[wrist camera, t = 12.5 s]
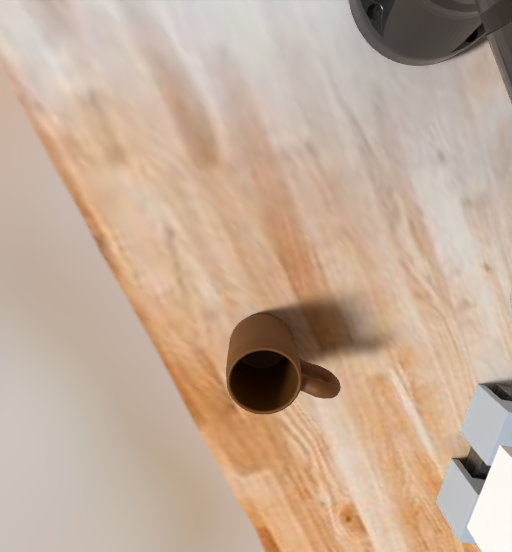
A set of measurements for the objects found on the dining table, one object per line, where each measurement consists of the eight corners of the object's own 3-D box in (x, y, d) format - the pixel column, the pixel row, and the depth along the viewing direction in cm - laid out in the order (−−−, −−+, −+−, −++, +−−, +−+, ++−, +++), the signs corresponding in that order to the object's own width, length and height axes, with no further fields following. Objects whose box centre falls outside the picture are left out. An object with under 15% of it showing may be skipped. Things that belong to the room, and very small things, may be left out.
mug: (335, 328, 47) (357, 365, 38) (317, 384, 49) (333, 432, 39) (237, 305, 46) (235, 337, 37) (223, 363, 48) (217, 407, 38)
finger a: (452, 455, 51) (506, 528, 41) (510, 464, 52) (577, 539, 41) (435, 501, 53) (482, 583, 43) (491, 510, 54) (551, 593, 43)
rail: (495, 383, 49) (508, 394, 46) (527, 388, 49) (542, 400, 47) (446, 513, 54) (455, 529, 51) (475, 517, 54) (486, 533, 51)
